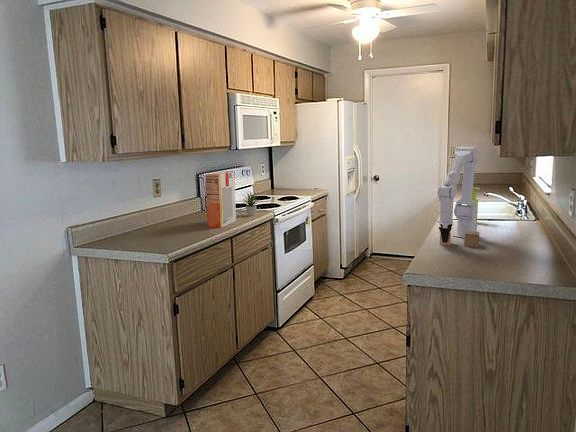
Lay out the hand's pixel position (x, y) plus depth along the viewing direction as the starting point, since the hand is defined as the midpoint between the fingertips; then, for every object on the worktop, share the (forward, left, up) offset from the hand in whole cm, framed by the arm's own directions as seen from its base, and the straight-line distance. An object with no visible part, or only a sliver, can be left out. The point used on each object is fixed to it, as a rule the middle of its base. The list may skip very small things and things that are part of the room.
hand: (445, 240), depth 223 cm
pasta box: (+57, -114, -2) cm, 127 cm away
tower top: (-7, +9, +1) cm, 11 cm away
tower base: (-7, +9, -2) cm, 11 cm away
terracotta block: (0, 0, -2) cm, 2 cm away
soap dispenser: (-55, -24, -2) cm, 60 cm away
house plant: (+28, -127, -2) cm, 130 cm away
